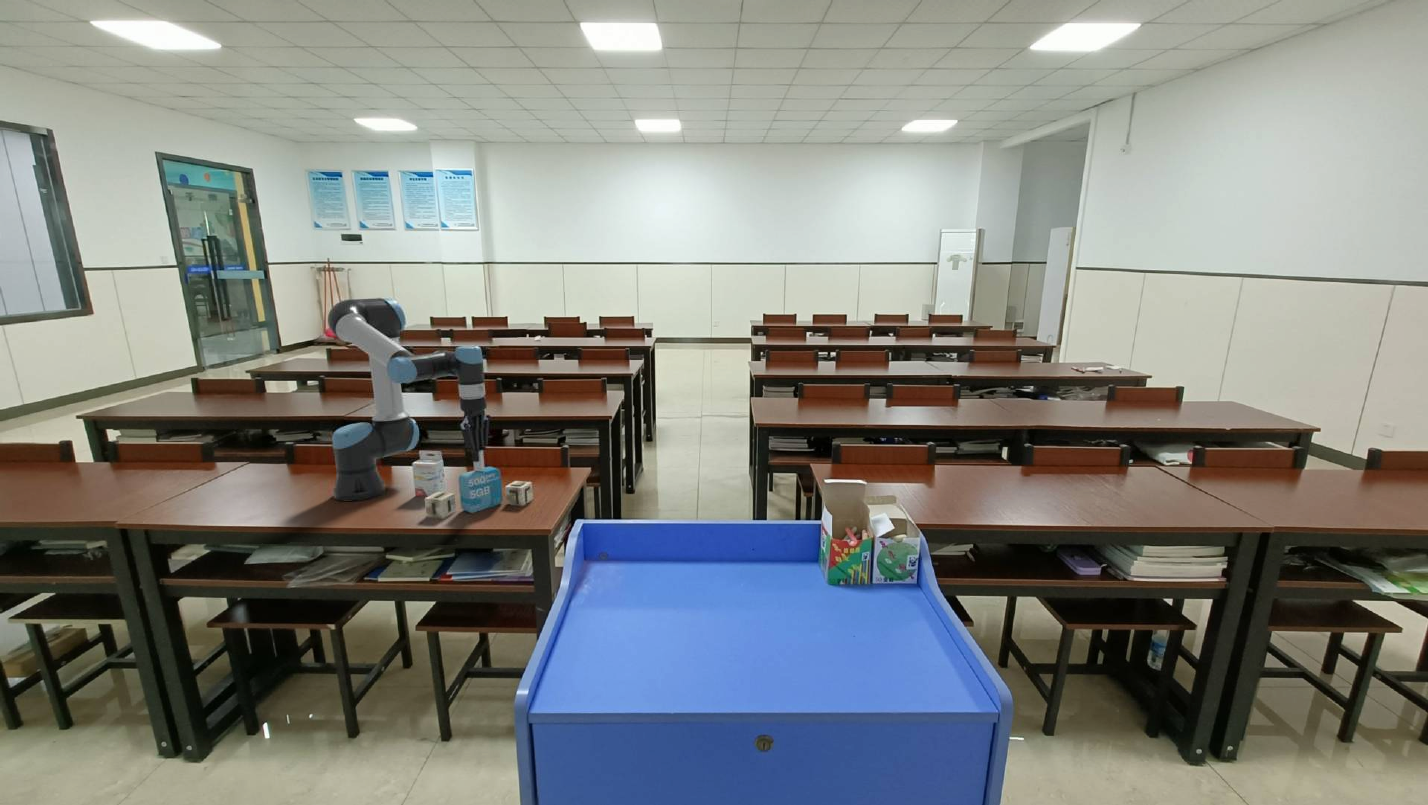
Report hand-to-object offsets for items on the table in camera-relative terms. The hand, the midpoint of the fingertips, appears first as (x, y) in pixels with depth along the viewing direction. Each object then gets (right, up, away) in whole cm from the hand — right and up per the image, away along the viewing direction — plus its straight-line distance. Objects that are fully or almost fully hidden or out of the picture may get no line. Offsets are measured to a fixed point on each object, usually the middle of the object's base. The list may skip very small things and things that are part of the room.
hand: (479, 470), depth 194 cm
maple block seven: (+10, -11, +7) cm, 17 cm away
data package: (0, -12, +3) cm, 12 cm away
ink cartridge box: (-22, -10, +14) cm, 28 cm away
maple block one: (-11, -13, -3) cm, 17 cm away
